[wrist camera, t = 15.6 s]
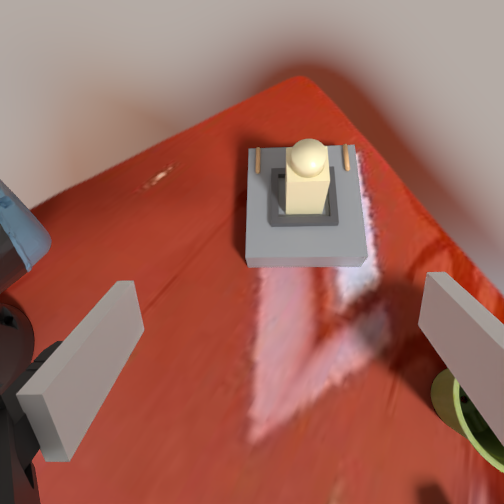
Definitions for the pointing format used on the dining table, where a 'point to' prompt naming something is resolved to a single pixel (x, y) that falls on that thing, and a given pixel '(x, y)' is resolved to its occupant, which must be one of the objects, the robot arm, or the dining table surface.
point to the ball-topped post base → (304, 215)
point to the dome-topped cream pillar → (306, 177)
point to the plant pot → (465, 418)
